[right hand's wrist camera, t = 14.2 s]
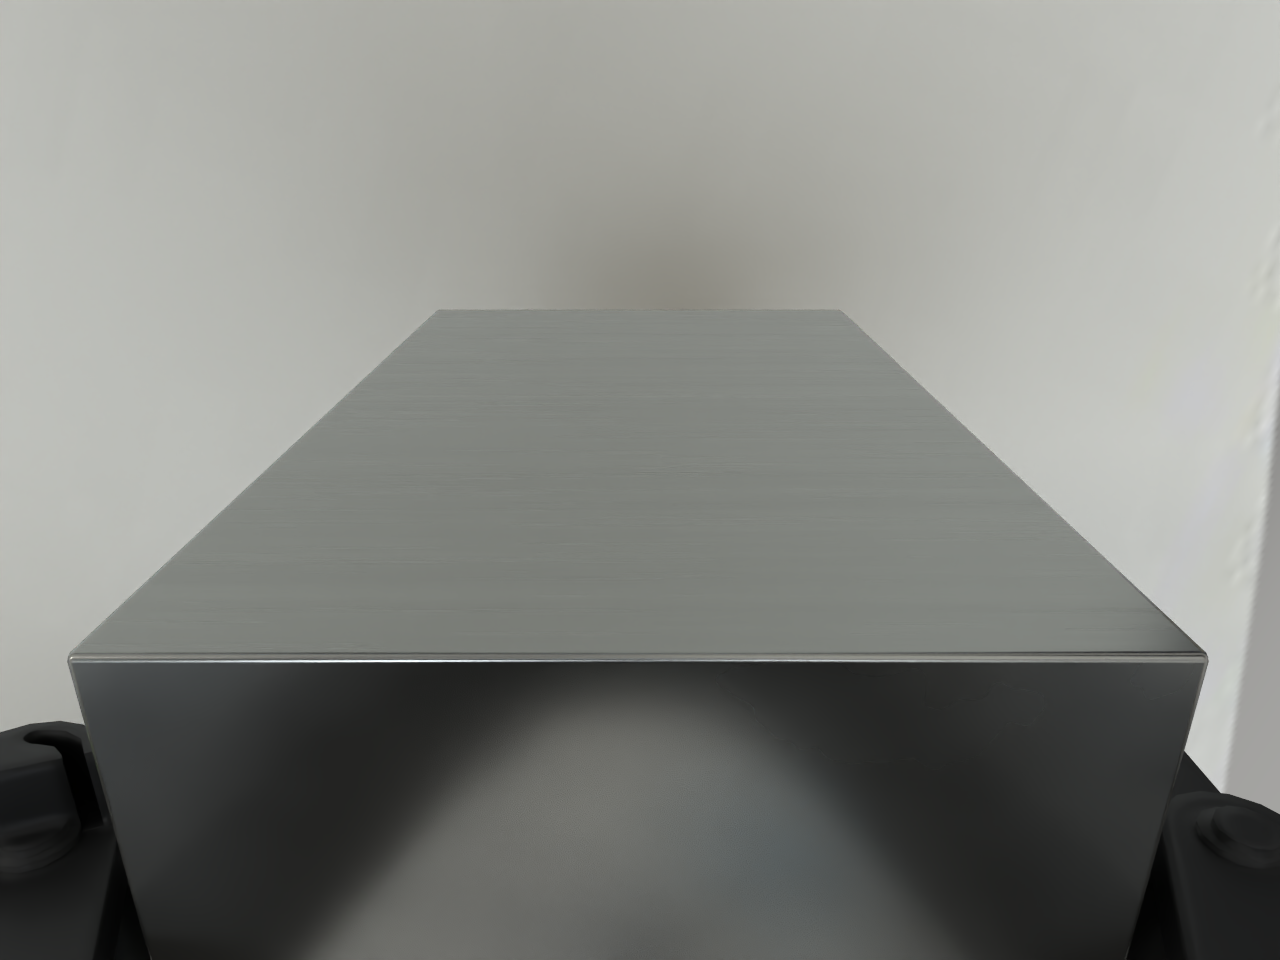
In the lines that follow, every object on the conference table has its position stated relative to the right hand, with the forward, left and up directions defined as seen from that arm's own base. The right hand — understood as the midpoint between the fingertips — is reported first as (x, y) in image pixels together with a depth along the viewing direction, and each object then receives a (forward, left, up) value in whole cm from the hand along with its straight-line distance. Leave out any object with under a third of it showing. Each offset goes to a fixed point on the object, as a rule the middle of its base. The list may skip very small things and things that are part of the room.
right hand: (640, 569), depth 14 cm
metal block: (0, 0, -3) cm, 3 cm away
